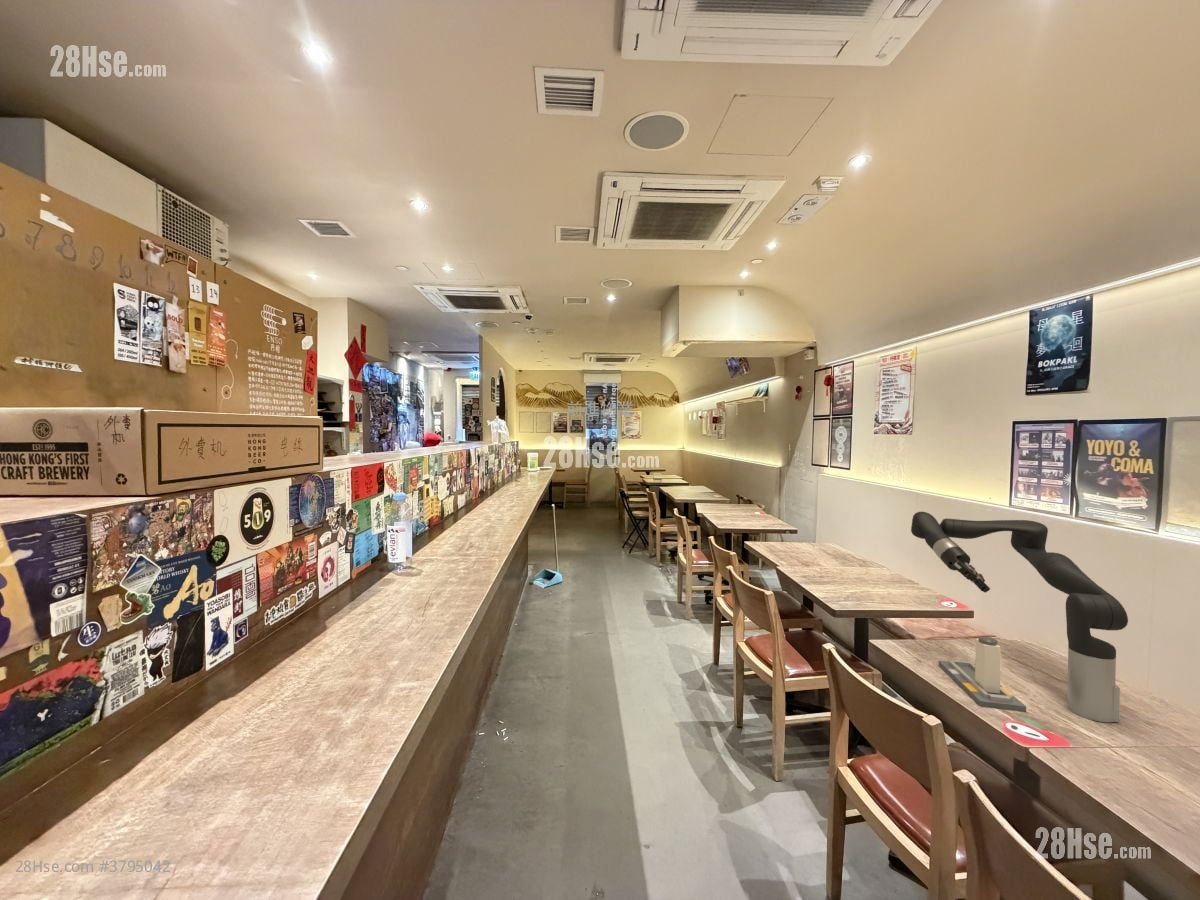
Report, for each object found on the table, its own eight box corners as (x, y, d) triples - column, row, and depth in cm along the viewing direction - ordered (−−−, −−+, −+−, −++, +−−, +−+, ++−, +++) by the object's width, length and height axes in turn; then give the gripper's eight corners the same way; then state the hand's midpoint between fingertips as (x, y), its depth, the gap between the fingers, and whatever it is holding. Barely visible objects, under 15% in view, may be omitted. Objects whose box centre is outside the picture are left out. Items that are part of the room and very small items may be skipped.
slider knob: (974, 683, 143) (974, 635, 143) (991, 685, 142) (991, 636, 142) (983, 691, 139) (983, 641, 138) (1000, 693, 138) (1001, 643, 137)
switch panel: (938, 664, 159) (938, 656, 159) (976, 668, 157) (976, 660, 157) (980, 706, 134) (980, 697, 134) (1026, 711, 131) (1026, 702, 131)
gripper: (954, 567, 171) (989, 604, 156) (930, 553, 167) (963, 590, 152) (971, 554, 168) (1009, 590, 153) (947, 539, 164) (983, 575, 149)
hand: (986, 590), depth 153 cm, fingers closed
